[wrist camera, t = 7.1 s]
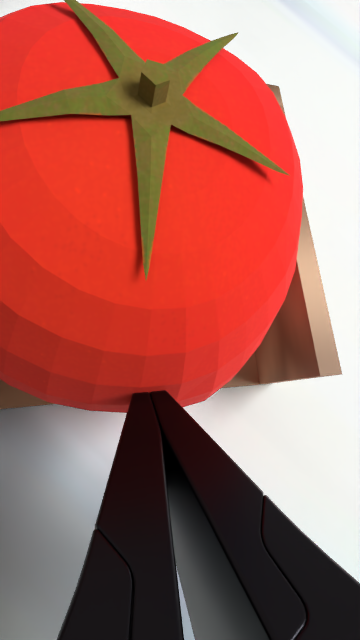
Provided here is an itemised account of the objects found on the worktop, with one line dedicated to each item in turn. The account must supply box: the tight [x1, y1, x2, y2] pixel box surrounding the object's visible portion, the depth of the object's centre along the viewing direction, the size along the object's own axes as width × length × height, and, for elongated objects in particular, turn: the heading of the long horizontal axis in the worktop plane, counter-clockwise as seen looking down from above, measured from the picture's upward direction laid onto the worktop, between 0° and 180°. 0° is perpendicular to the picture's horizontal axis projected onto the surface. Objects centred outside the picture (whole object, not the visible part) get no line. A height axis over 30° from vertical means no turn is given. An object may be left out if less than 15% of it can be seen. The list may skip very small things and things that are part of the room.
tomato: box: [0, 0, 303, 413], centre depth 11 cm, size 11×12×10 cm
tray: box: [0, 84, 342, 409], centre depth 14 cm, size 14×16×5 cm
